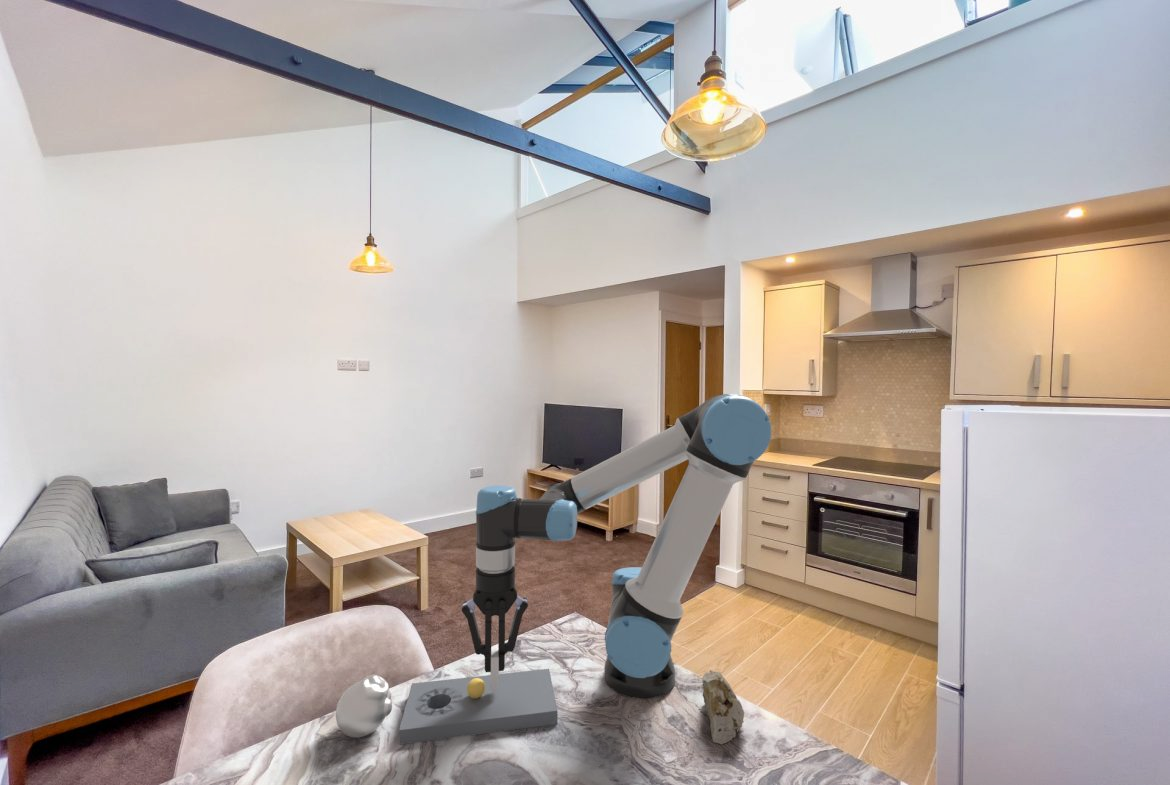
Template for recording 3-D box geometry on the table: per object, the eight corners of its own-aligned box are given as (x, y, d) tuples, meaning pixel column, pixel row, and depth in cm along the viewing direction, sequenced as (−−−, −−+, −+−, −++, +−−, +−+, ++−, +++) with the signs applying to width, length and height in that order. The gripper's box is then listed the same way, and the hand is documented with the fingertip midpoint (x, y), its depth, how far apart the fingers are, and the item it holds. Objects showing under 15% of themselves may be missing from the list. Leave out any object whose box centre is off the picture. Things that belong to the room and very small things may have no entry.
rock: (752, 744, 85) (740, 678, 88) (713, 747, 86) (703, 682, 89) (740, 721, 97) (730, 664, 100) (706, 724, 97) (697, 667, 100)
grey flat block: (549, 680, 106) (549, 668, 106) (557, 723, 92) (557, 710, 92) (412, 695, 101) (411, 683, 101) (399, 744, 87) (399, 730, 87)
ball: (465, 676, 97) (466, 694, 98) (467, 686, 94) (468, 704, 94) (483, 672, 99) (484, 689, 99) (485, 682, 95) (486, 699, 95)
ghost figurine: (372, 753, 85) (371, 695, 85) (324, 745, 87) (324, 688, 87) (402, 719, 94) (402, 666, 94) (358, 712, 96) (358, 660, 96)
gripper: (527, 558, 102) (526, 672, 102) (462, 561, 99) (461, 678, 100) (530, 571, 94) (529, 695, 95) (459, 575, 92) (458, 702, 92)
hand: (494, 686), depth 97 cm, fingers closed
